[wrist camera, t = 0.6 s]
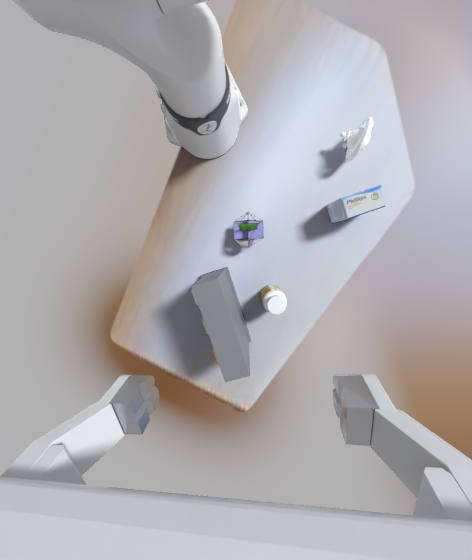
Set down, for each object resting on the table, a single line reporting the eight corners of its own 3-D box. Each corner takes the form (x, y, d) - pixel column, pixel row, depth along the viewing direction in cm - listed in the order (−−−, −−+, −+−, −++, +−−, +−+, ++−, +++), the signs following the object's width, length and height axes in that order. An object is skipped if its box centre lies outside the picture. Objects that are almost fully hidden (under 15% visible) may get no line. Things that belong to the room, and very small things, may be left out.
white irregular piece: (349, 169, 51) (368, 155, 43) (326, 160, 51) (340, 145, 43) (364, 132, 49) (387, 111, 42) (340, 123, 49) (358, 101, 41)
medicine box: (330, 223, 53) (346, 220, 45) (325, 204, 52) (341, 197, 44) (363, 212, 52) (386, 206, 44) (359, 193, 52) (381, 183, 43)
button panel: (201, 275, 57) (184, 288, 41) (227, 267, 56) (220, 277, 40) (225, 346, 60) (218, 383, 44) (250, 339, 59) (252, 375, 43)
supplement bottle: (262, 306, 57) (265, 319, 48) (259, 285, 56) (262, 294, 47) (283, 303, 57) (290, 316, 47) (281, 282, 56) (288, 291, 46)
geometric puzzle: (232, 206, 51) (231, 226, 46) (262, 205, 51) (265, 225, 45) (234, 233, 57) (233, 253, 51) (261, 232, 56) (263, 252, 51)
